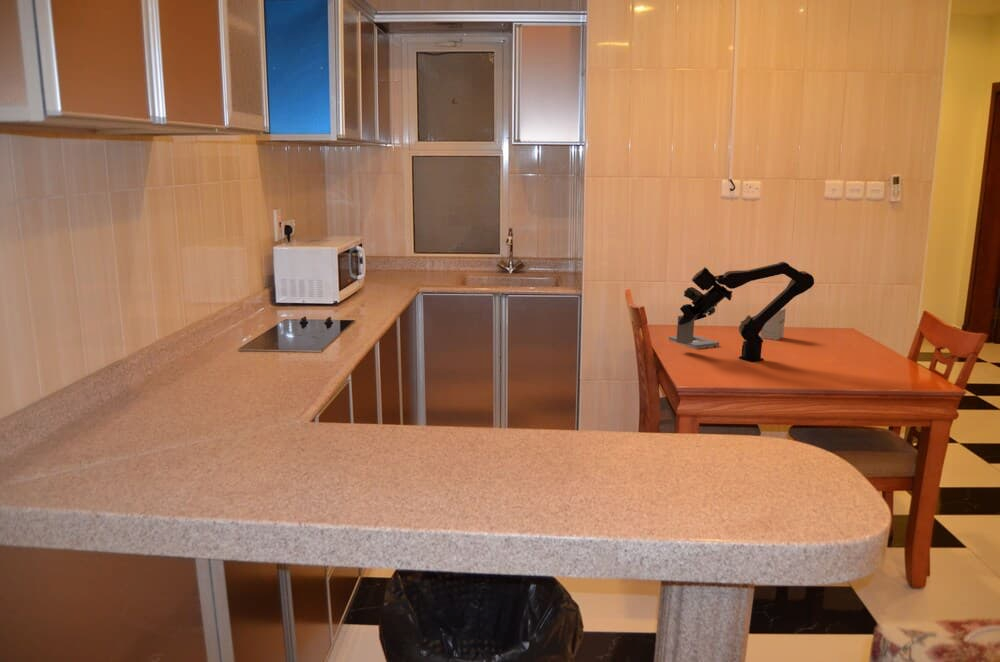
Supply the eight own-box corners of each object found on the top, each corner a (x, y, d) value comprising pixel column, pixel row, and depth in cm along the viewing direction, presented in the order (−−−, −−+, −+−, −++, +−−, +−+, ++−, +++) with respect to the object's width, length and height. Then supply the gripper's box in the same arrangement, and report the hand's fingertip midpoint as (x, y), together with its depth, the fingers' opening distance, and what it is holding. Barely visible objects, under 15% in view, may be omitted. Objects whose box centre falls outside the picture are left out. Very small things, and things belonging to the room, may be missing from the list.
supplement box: (777, 340, 320) (780, 310, 318) (759, 337, 325) (762, 308, 322) (783, 337, 326) (786, 307, 323) (766, 335, 331) (768, 305, 328)
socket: (718, 346, 308) (719, 342, 308) (695, 348, 303) (695, 345, 302) (691, 337, 322) (691, 334, 322) (668, 340, 316) (668, 336, 316)
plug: (692, 342, 297) (694, 312, 294) (687, 344, 294) (689, 314, 291) (681, 340, 300) (683, 310, 297) (676, 342, 296) (678, 312, 294)
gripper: (709, 278, 296) (681, 303, 305) (686, 283, 282) (657, 309, 291) (727, 301, 293) (698, 326, 302) (705, 308, 279) (675, 333, 288)
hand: (682, 323), depth 296 cm, fingers closed on plug, 4 cm apart
